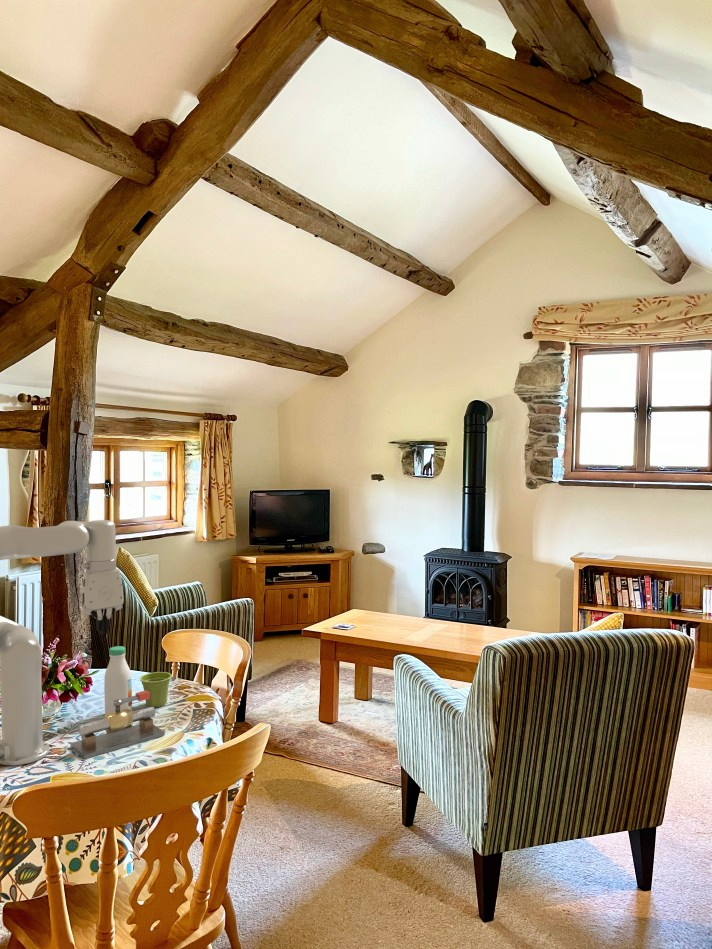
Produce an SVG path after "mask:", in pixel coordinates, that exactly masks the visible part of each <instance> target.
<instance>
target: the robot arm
mask: <svg viewBox="0 0 712 949" xmlns="http://www.w3.org/2000/svg"><path fill="white" fill-rule="evenodd" d="M115 524H116V523H115V522H114V521H113V520H110V519H98V520H97V519H96V520H91V521H81V520H80V521H78V520H65V521H63V522H61V523H59V524H58V525H54V526H53V525H51V526H42V527H41V526H40V527H39V526H35V527H34V526H33V527H30V526H23V525H0V561H5V560H13V559H17V560H18V559H27V558H28V559H29V558H38V557H39V558H42V557H51V556H53V557H54V556H61V555H68V554H75V553H79V552H80V551H82V550H84V549H86V551H85V552H86V556H85V557H86V560H85V563H81V564H80V566H81V569H82V570H83V569H84V570H86V571H85V572H84V574H83V579H82V586H81V606H82V609H81V614H83V615H86V616H87V615H88V616H92V617H94V619H95V625H96V626H95V628H96V631H97V633H98V634H100V635H108V634H109V630H110V619H111V618H112V616H113V615H114V613H115V612H117V611H119V610H121V609H123V604H124V601H125V600H124V597H125V596H124V587H123V580H122V575H121V571H120V569H117V547H116V546H117V545H116V544H117V543H116V542H117V541H116V540H117V539H116V536H117V535H116V534H117V533H116V525H115ZM102 610H103V612H102ZM42 664H43V652H42V648H41V645H40V642H39V640H38V638H37V636H36V634H35V633H34V632H33V631H32V630H31V629H29V628H28V627H26V626H24V625H22V624H19V623H18V622H15V621H13V620H11V619H9V618H7V617H4V616H2V615H0V710H1V711H0V712H1V713H0V715H1V717H0V718H1V739H0V765H4V766H20V765H25V764H31V763H33V762H37V761H39V760H41V759H43V758H45V757H46V756H47V755H48V754H49V753H50V750H51V749H50V747H51V746H50V745H49V744H48V743H47V742H45V741H44V740H43V739H44V733H43V730H44V729H43V703H42V702H43V699H42V698H43V697H42V696H43V695H42V693H43V692H42Z"/></svg>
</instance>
